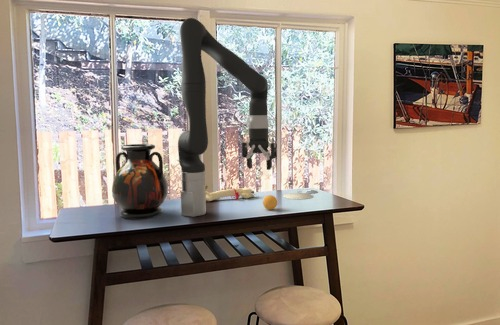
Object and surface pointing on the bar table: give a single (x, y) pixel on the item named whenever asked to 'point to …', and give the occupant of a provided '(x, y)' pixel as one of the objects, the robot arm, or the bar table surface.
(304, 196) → the disc
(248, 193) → the cat figure
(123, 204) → the amphora vase
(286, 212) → the bar table surface
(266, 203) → the ball
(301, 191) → the disc
